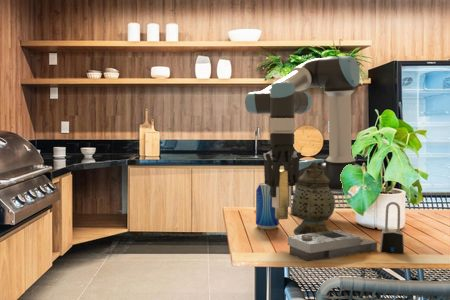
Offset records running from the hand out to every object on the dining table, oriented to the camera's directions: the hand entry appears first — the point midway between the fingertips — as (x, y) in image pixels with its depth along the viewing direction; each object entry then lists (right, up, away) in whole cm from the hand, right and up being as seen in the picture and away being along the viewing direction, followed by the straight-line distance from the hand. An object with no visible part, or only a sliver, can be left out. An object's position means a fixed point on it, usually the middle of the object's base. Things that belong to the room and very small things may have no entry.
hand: (281, 206), depth 144 cm
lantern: (+13, -11, +16) cm, 23 cm away
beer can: (-2, -11, +24) cm, 27 cm away
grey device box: (+14, -13, -7) cm, 20 cm away
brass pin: (0, -4, 0) cm, 4 cm away
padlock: (+32, -13, -7) cm, 35 cm away
